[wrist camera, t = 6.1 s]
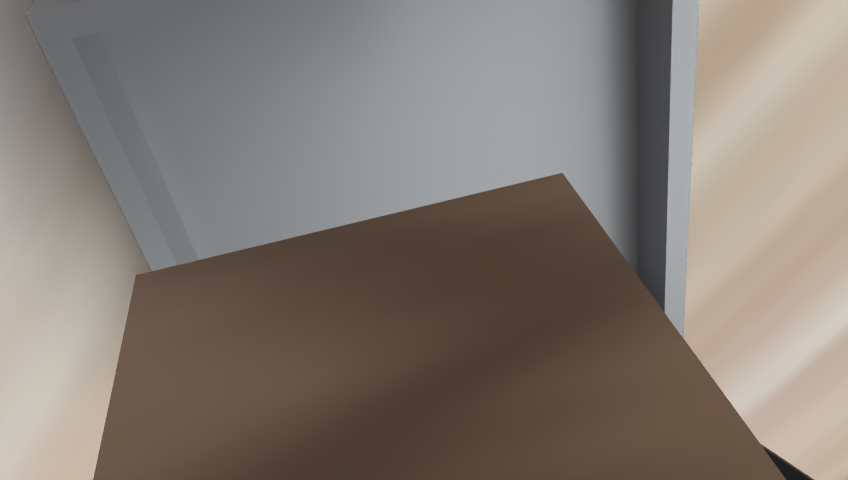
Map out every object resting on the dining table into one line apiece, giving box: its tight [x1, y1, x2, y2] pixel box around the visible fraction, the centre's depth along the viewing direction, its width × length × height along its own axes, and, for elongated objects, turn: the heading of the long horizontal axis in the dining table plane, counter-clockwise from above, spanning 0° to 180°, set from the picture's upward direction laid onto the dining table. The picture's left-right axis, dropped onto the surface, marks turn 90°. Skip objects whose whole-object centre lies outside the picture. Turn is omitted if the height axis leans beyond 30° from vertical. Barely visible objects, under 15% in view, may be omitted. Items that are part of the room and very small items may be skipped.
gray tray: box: [24, 0, 699, 337], centre depth 19 cm, size 13×13×2 cm
